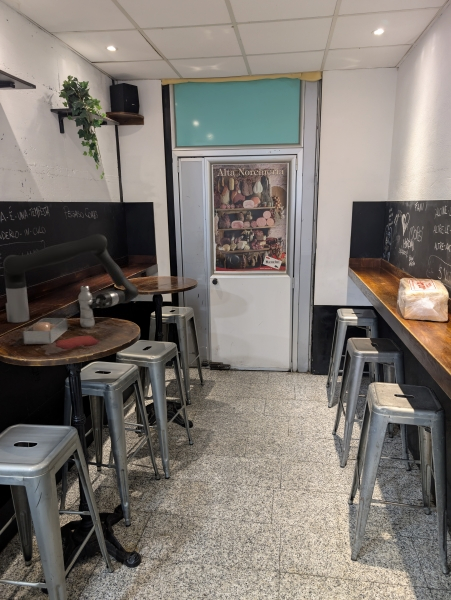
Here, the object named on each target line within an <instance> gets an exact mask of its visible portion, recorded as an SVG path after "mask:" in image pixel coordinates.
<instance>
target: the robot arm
mask: <svg viewBox="0 0 451 600" xmlns="http://www.w3.org/2000/svg"><path fill="white" fill-rule="evenodd" d="M107 246H108V239H107V238H106V236H105V235H103V234H99V233H96V234H93V235H92V234H91V235H90V236H87V237H84V238H81V239H78V240H74V241H73V240H71V241H67V242H64V243H63V242H62V243H58V244H55V245H51V246H47V247H45V248H42V249H40V250H36V251H35V252H32V253H27V254H22V255H21V254H20V255H18V254H17V255H16V254H9V255H8V256H5V258H4V259H3V263H2V267H3V275H4V282H5V283H4V284H5V285H4V286H5V292H6V300H7V301H6V303H5V310H6V318H7V320H6V321H7V322H8V323H24V322H28V321H30V313H29V312H30V310H29V303H28V302H29V301H28V291H27V280H26V273H25V272H27V271H30V270H33V269H36V268H40V267H41V268H42V267H46V266H52V265H56V264H60V263H64V262H66V261H68V262H69V260H71V259H74V258H75V257H78V256H80V255H82V254H85V253H89V252H91V253H92V254H93V255H94V256H95V258H96V259H97V260H98V261H99V263H101V265H102V267H104V268H103V269H104V270H106V272H107V274H108V275H109V277H110V279H111V280H112V282H113V284H114V285H115V286H116V287H117V288H120V287H123V288H124V289H123V290H121V289H116V290H111V291H105V292H102V293H98V294H97V295H96V296H95V297H93V301H92V304H89V308H90V309H92V310H93V309H97V308H99V309H106V308H109V307H113V306H115V305H119V304H128V303H130V302H131V301H133V300H135V299H136V298H137V297H138V296H139V290H138V288H137V287H136V286H135V284H134V283H132V281H131V280H129V278H127V277H126V275H125V273H124V272H123V270H122V268H121V267H120V265H118V264H117V263H116V261H114V260H113V258H112V256H110V253H109V251H108V249H107ZM75 306H76V307H80V304H79V301H77V302H76V303H75Z"/></svg>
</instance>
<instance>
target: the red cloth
mask: <svg viewBox="0 0 451 600" xmlns="http://www.w3.org/2000/svg"><path fill="white" fill-rule="evenodd" d="M54 342H55V347H56V348H60V349H62V350H71V349H75V348H78V347H82V346H83V348H85V347H91V346H95V345H97V344H99V340H98V339H96V338H94V337H93V336H92V335H80V336H73V337H71V338H68V339H67V338H66V339H58V340H56V341H54Z"/></svg>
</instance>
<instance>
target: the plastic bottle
mask: <svg viewBox="0 0 451 600" xmlns="http://www.w3.org/2000/svg"><path fill="white" fill-rule="evenodd" d="M77 298H78V299H77V300H78V302H79V304H80V308H79V309H80V321H79V324H80V326H81V327H82V328H92V327H94V326H95V318H94V317H95V316H94V311H93V309H90V308H89V304H92V301H93V298H94V297H93V295H92V293H91V292H90V286H89V285H81V286H80V292H79V294H78V296H77Z"/></svg>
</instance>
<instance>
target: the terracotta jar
mask: <svg viewBox="0 0 451 600" xmlns="http://www.w3.org/2000/svg"><path fill="white" fill-rule="evenodd" d="M32 325H33V331H50V323H48V322H39V323H37V322H35V323H33V324H32Z"/></svg>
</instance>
